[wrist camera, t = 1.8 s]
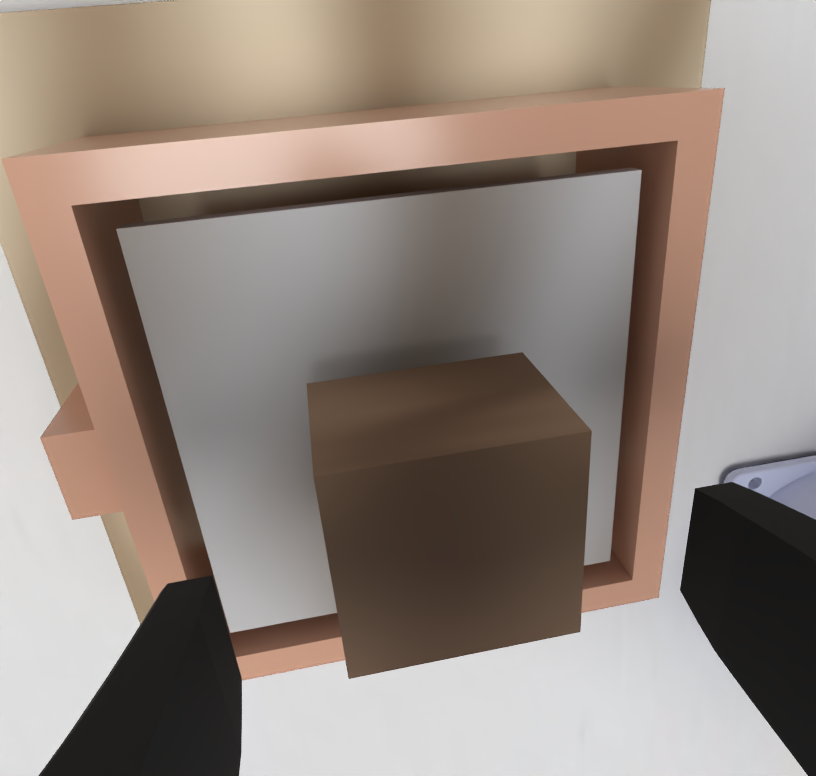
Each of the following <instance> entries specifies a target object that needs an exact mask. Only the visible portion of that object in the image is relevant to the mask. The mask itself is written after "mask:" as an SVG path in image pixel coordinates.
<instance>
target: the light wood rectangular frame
mask: <svg viewBox="0 0 816 776" xmlns="http://www.w3.org/2000/svg"><path fill="white" fill-rule="evenodd" d="M710 5H711V0H173V1H159V2H146V3H132V4H118V5H104V6H90V7H76V8H62V9H48V10H34V11H20V12H6V13H0V243H1V246H2V248H3V251H4V254H5V257H6V259H7V262H8V265H9V267H10V270H11V273H12V276H13V278H14V281H15V284H16V287H17V289H18V292H19V295H20V297H21V300H22V303H23V306H24V308H25V311H26V314H27V316H28V319H29V322H30V325H31V327H32V330H33V333H34V336H35V338H36V341H37V344H38V346H39V349H40V352H41V355H42V357H43V360H44V363H45V366H46V368H47V371H48V374H49V376H50V379H51V382H52V385H53V387H54V390H55V393H56V396H57V398H58V401H59V404H60V406H61V407H62V405H63V404H64V402H65V401H66V400H67V398H68V397H69V395H70V394H71V392H72V391H73V389H74V388H75V386H76V385H77V384H78V380H77V377H76V374H75V371H74V368H73V365H72V362H71V360H70V357H69V354H68V351H67V348H66V345H65V342H64V339H63V336H62V334H61V331H60V328H59V325H58V322H57V319H56V316H55V313H54V310H53V308H52V305H51V302H50V299H49V296H48V293H47V290H46V287H45V284H44V281H43V279H42V276H41V273H40V270H39V267H38V264H37V261H36V258H35V255H34V253H33V250H32V247H31V244H30V241H29V238H28V235H27V232H26V229H25V227H24V224H23V221H22V218H21V215H20V212H19V209H18V206H17V203H16V201H15V198H14V195H13V192H12V189H11V186H10V183H9V180H8V177H7V174H6V172H5V169H4V166H3V163H2V160H1V159H3V158H6V157H10V156H14V155H17V154H21V153H25V152H28V151H32V150H36V149H40V148H43V147H47V146H51V145H54V144H58V143H62V142H65V141H69V140H73V139H76V138H80V137H86V136H96V135H107V134H117V133H128V132H138V131H149V130H159V129H170V128H180V127H191V126H201V125H212V124H222V123H233V122H244V121H254V120H265V119H275V118H286V117H296V116H307V115H317V114H328V113H338V112H349V111H359V110H370V109H380V108H391V107H401V106H412V105H422V104H433V103H443V102H454V101H464V100H475V99H485V98H496V97H506V96H517V95H527V94H538V93H548V92H559V91H569V90H580V89H590V88H601V87H674V88H701V83H702V74H703V66H704V57H705V48H706V40H707V31H708V22H709V13H710ZM575 172H576V151H575V152H566V153H556V154H547V155H538V156H528V157H519V158H510V159H500V160H491V161H482V162H472V163H463V164H454V165H444V166H435V167H426V168H417V169H407V170H398V171H389V172H379V173H370V174H361V175H351V176H342V177H333V178H323V179H314V180H305V181H295V182H286V183H277V184H268V185H258V186H249V187H240V188H230V189H221V190H212V191H202V192H193V193H184V194H174V195H165V196H156V197H146V198H138V201H139V205H140V209H141V213H142V216H143V220H144V222H148V221H157V220H165V219H174V218H183V217H192V216H201V215H210V214H219V213H228V212H237V211H246V210H255V209H264V208H273V207H282V206H291V205H300V204H309V203H318V202H326V201H335V200H344V199H353V198H362V197H371V196H380V195H389V194H398V193H407V192H416V191H425V190H434V189H443V188H452V187H461V186H470V185H479V184H487V183H496V182H505V181H514V180H523V179H532V178H541V177H550V176H559V175H568V174H575ZM100 516H101V518H102V521H103V524H104V526H105V529H106V532H107V535H108V537H109V540H110V543H111V546H112V548H113V551H114V554H115V556H116V559H117V562H118V565H119V567H120V570H121V573H122V576H123V578H124V581H125V584H126V586H127V589H128V592H129V595H130V597H131V600H132V603H133V606H134V608H135V611H136V614H137V616H138V619H139V622H140V625H141V623H142V621H143V620H144V618H145V616H146V615H147V613H148V612H149V610H150V608H151V607H152V605H153V603H154V600H153V597H152V594H151V591H150V588H149V585H148V582H147V579H146V576H145V574H144V571H143V568H142V565H141V562H140V559H139V556H138V553H137V550H136V547H135V545H134V542H133V539H132V536H131V533H130V530H129V527H128V524H127V521H126V519H125V516H124V513H123V511H122V512H116V513H110V514H104V515H100Z"/></svg>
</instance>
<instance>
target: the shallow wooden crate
mask: <svg viewBox="0 0 816 776" xmlns="http://www.w3.org/2000/svg"><path fill="white" fill-rule="evenodd" d="M724 89H725V88H674V87H601V88H590V89H580V90H569V91H559V92H548V93H538V94H527V95H517V96H506V97H496V98H485V99H475V100H464V101H454V102H443V103H433V104H422V105H412V106H401V107H391V108H380V109H370V110H359V111H349V112H338V113H328V114H317V115H307V116H296V117H286V118H275V119H265V120H254V121H244V122H233V123H222V124H212V125H201V126H191V127H180V128H170V129H159V130H149V131H138V132H128V133H117V134H107V135H96V136H86V137H80V138H76V139H73V140H69V141H65V142H62V143H58V144H54V145H51V146H47V147H43V148H40V149H36V150H32V151H28V152H25V153H21V154H17V155H14V156H10V157H6V158H3V159H1V160H2V163H3V166H4V169H5V172H6V174H7V177H8V180H9V183H10V186H11V189H12V192H13V195H14V198H15V201H16V203H17V206H18V209H19V212H20V215H21V218H22V221H23V224H24V227H25V229H26V232H27V235H28V238H29V241H30V244H31V247H32V250H33V253H34V255H35V258H36V261H37V264H38V267H39V270H40V273H41V276H42V279H43V281H44V284H45V287H46V290H47V293H48V296H49V299H50V302H51V305H52V308H53V310H54V313H55V316H56V319H57V322H58V325H59V328H60V331H61V334H62V336H63V339H64V342H65V345H66V348H67V351H68V354H69V357H70V360H71V362H72V365H73V368H74V371H75V374H76V377H77V380H78V384H77V385H76V386H75V388H74V389H73V391H72V392H71V394H70V395H69V397H68V398H67V400H66V401H65V402H64V404H63V405H62V407H61V408H60V410H59V411H58V413H57V414H56V416H55V417H54V418H53V420H52V421H51V423H50V424H49V426H48V427H47V429H46V430H45V432H44V433H43V434H42V436H41V437H40V438H41V441H42V443H43V446H44V449H45V451H46V454H47V456H48V459H49V461H50V464H51V466H52V469H53V471H54V474H55V477H56V479H57V482H58V484H59V487H60V489H61V492H62V494H63V497H64V499H65V502H66V505H67V507H68V510H69V512H70V515H71V517H72V520H74V519H80V518H86V517H92V516H98V515H104V514H110V513H116V512H122V511H123V513H124V516H125V519H126V521H127V524H128V527H129V530H130V533H131V536H132V539H133V542H134V545H135V547H136V550H137V553H138V556H139V559H140V562H141V565H142V568H143V571H144V574H145V576H146V579H147V582H148V585H149V588H150V591H151V594H152V597H153V600H154V602H155V600H156V599H157V597H158V595H159V594H160V592H161V591H162V590H163V588H164V587H165V586H166V585H167V583H173V582H178V581H184V580H189V579H195V578H201V577H206V576H213V579H214V583H215V586H216V590H217V593H218V597H219V600H220V604H221V607H222V611H223V614H224V618H225V621H226V625H227V628H228V632H229V635H230V639H231V642H232V646H233V649H234V653H235V656H236V660H237V663H238V667H239V670H240V674H241V677H242V680H247V679H252V678H257V677H262V676H267V675H272V674H277V673H282V672H287V671H292V670H297V669H302V668H307V667H312V666H317V665H322V664H328V663H333V662H338V661H343V660H345V654H344V649H343V643H342V637H341V632H340V626H339V620H338V614H337V613H333V614H327V615H322V616H317V617H312V618H306V619H301V620H296V621H290V622H285V623H280V624H275V625H269V626H264V627H259V628H254V629H248V630H243V631H238V632H233V633H230V631H229V627H228V623H227V620H226V616H225V613H224V609H223V606H222V602H221V599H220V595H219V592H218V588H217V585H216V581H215V577H214V574H213V570H212V567H211V563H210V560H209V556H208V553H207V549H206V546H205V542H204V539H203V535H202V531H201V528H200V524H199V521H198V517H197V514H196V510H195V507H194V503H193V500H192V496H191V493H190V489H189V485H188V482H187V478H186V475H185V471H184V468H183V464H182V461H181V457H180V454H179V450H178V447H177V443H176V439H175V436H174V432H173V429H172V425H171V422H170V418H169V415H168V411H167V408H166V404H165V401H164V397H163V393H162V390H161V386H160V383H159V379H158V376H157V372H156V369H155V365H154V362H153V358H152V355H151V351H150V347H149V344H148V340H147V337H146V333H145V330H144V326H143V323H142V319H141V316H140V312H139V308H138V305H137V301H136V298H135V294H134V291H133V287H132V284H131V280H130V277H129V273H128V270H127V266H126V262H125V259H124V255H123V252H122V248H121V245H120V241H119V238H118V234H117V231H116V229H117V228H118V227H119V226H120V225H121V224H130V223H139V222H144V220H143V216H142V213H141V209H140V205H139V201H138V198H146V197H156V196H165V195H174V194H184V193H193V192H202V191H212V190H221V189H230V188H240V187H249V186H258V185H268V184H277V183H286V182H295V181H305V180H314V179H323V178H333V177H342V176H351V175H361V174H370V173H379V172H389V171H398V170H407V169H417V168H426V167H435V166H444V165H454V164H463V163H472V162H482V161H491V160H500V159H510V158H519V157H528V156H538V155H547V154H556V153H566V152H575V151H576V172H575V174H577V173H586V172H595V171H604V170H613V169H622V168H631V167H632V168H636V169H640V170H642V173H641V186H640V198H639V210H638V222H637V235H636V247H635V259H634V272H633V284H632V296H631V309H630V321H629V333H628V346H627V358H626V370H625V383H624V395H623V407H622V420H621V432H620V444H619V456H618V469H617V481H616V493H615V506H614V518H613V530H612V543H611V555H610V561H606V562H601V563H596V564H590V565H585V566H584V575H583V592H582V609H581V613H583V612H588V611H593V610H598V609H603V608H608V607H613V606H618V605H623V604H628V603H633V602H638V601H644V600H649V599H654V598H659V590H660V583H661V575H662V567H663V560H664V552H665V544H666V536H667V529H668V521H669V513H670V506H671V498H672V490H673V482H674V475H675V467H676V459H677V452H678V444H679V436H680V428H681V421H682V413H683V405H684V398H685V390H686V382H687V374H688V367H689V359H690V351H691V344H692V336H693V328H694V320H695V313H696V305H697V297H698V290H699V282H700V274H701V266H702V259H703V251H704V243H705V236H706V228H707V220H708V212H709V205H710V197H711V189H712V182H713V174H714V166H715V159H716V151H717V143H718V135H719V128H720V120H721V112H722V105H723V97H724Z"/></svg>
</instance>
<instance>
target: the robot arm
mask: <svg viewBox="0 0 816 776" xmlns="http://www.w3.org/2000/svg"><path fill="white" fill-rule="evenodd" d="M752 479H753V480H752ZM751 480H752V481H751ZM750 481H751V482H750ZM680 591H681V593H682V594H683V596H684V598H685V600H686V602H687V603H688V605H689V607H690V609H691V611H692V612H693V614H694V616H695V618H696V620H697V622H698V623H699V625H700V627H701V628H702V630H703V632H704V633H705V635H706V637H707V638H708V640H709V642H710V643H711V645H712V647H713V648H714V650H715V652H716V653H717V654H718V656H719V657H720V659H721V660H722V661H723V663H724V664H725V666H726V667H727V668H728V670H729V671H730V672H731V674H732V675H733V676H734V678H735V679H736V680H737V682H738V683H739V684H740V686H741V687H742V689H743V690H744V691H745V693H746V694H747V695H748V697H749V698H750V699H751V701H752V702H753V703H754V705H755V706H756V707H757V709H758V710H759V711H760V713H761V714H762V715H763V717H764V718H765V719H766V721H767V722H768V723H769V725H770V726H771V727H772V728H773V730H774V731H775V732H776V734H777V735H778V736H779V738H780V739H781V740H782V742H783V743H784V744H785V746H786V747H787V748H788V750H789V751H790V752H791V754H792V755H793V756H794V758H795V759H796V760H797V762H798V763H799V764H800V766H801V767H802V768H803V770H804V771H805V772H806V774H807V775H808V776H816V455H815V456H809V457H803V458H798V459H792V460H786V461H781V462H775V463H769V464H764V465H758V466H752V467H747V468H741V469H737V470H734V471H732V472H730V473H729V474H728V475H727V476H726V478H725V480H724V483H723V484H717V485H712V486H706V487H701V488H695V493H694V499H693V506H692V513H691V520H690V527H689V533H688V540H687V547H686V554H685V561H684V567H683V574H682V581H681V588H680ZM241 732H242V677H241V674H240V670H239V667H238V663H237V660H236V656H235V653H234V649H233V646H232V642H231V639H230V635H229V632H228V628H227V625H226V621H225V618H224V614H223V611H222V607H221V604H220V600H219V597H218V593H217V590H216V586H215V583H214V579H213V576H206V577H201V578H195V579H189V580H184V581H178V582H173V583H167V585H166V586H165V587H164V588H163V590H162V591H161V592H160V594H159V595H158V597H157V599H156V600H155V602H154V603H153V605H152V607H151V608H150V610H149V612H148V613H147V615H146V616H145V618H144V620H143V621H142V623H141V625H140V626H139V628H138V629H137V631H136V633H135V634H134V636H133V637H132V639H131V641H130V642H129V644H128V645H127V647H126V649H125V650H124V652H123V653H122V655H121V656H120V658H119V660H118V661H117V663H116V664H115V666H114V667H113V669H112V671H111V672H110V674H109V675H108V677H107V678H106V680H105V681H104V683H103V684H102V686H101V687H100V689H99V690H98V692H97V693H96V695H95V696H94V698H93V699H92V700H91V702H90V703H89V705H88V706H87V708H86V709H85V711H84V712H83V714H82V715H81V717H80V718H79V720H78V721H77V723H76V724H75V726H74V727H73V729H72V730H71V732H70V733H69V735H68V736H67V737H66V739H65V740H64V742H63V743H62V745H61V746H60V747H59V749H58V750H57V751H56V753H55V754H54V755H53V757H52V758H51V760H50V761H49V762H48V764H47V765H46V766H45V768H44V769H43V770H42V772H41V773H40V775H39V776H239V769H240V759H241Z"/></svg>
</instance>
